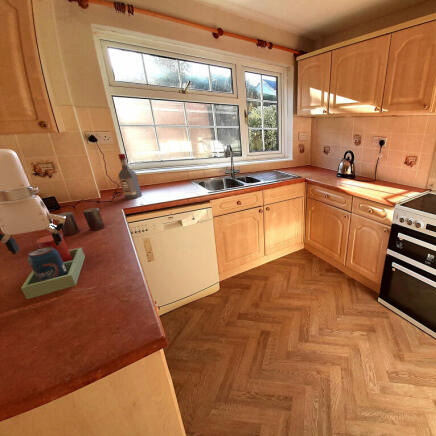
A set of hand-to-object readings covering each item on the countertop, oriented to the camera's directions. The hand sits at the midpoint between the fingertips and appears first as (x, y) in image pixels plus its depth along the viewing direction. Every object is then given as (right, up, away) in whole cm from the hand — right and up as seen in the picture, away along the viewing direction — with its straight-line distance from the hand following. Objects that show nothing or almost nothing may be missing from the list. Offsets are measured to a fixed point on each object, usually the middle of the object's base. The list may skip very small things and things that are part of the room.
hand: (38, 247), depth 75 cm
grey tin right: (-20, +4, +48) cm, 52 cm away
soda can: (+1, -12, +5) cm, 13 cm away
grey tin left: (-28, +2, +43) cm, 51 cm away
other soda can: (-5, -9, +13) cm, 16 cm away
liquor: (-35, +24, +99) cm, 108 cm away
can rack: (-2, -11, +9) cm, 14 cm away
